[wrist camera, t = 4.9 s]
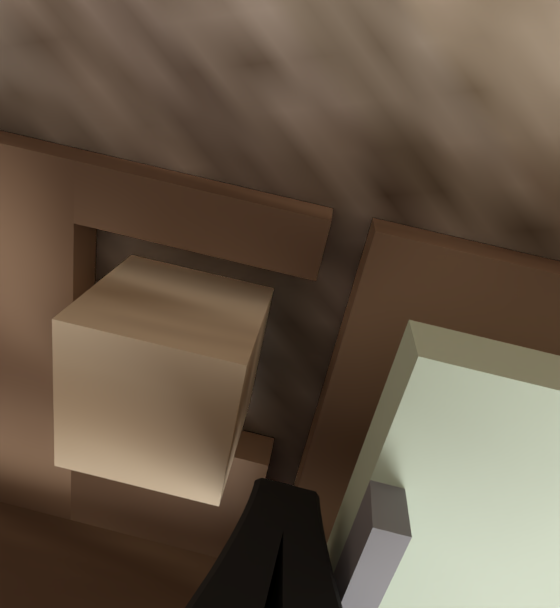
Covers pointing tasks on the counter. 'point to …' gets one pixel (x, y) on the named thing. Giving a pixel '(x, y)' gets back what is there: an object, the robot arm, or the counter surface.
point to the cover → (456, 480)
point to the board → (251, 447)
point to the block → (157, 376)
